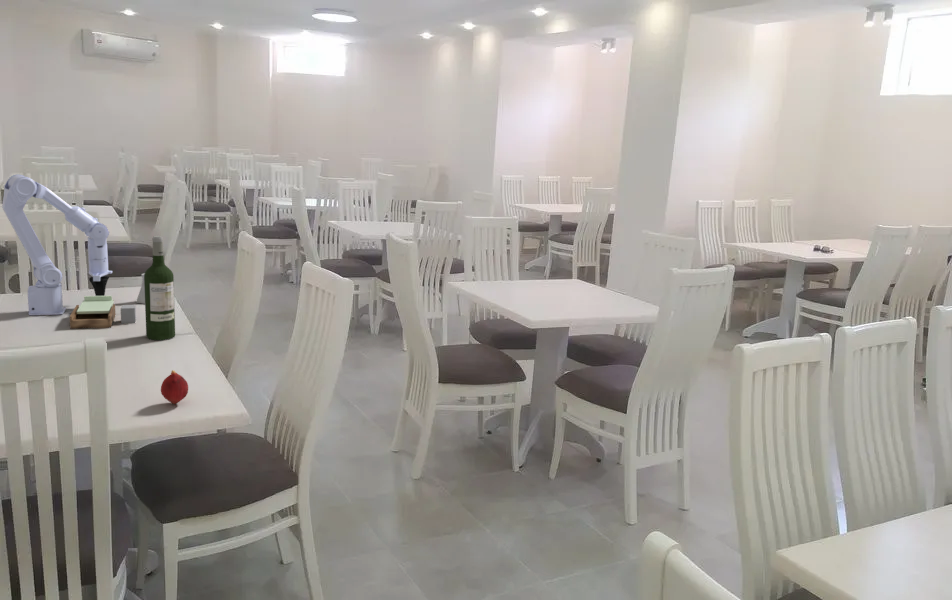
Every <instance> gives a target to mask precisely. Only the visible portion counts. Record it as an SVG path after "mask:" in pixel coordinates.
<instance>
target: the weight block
mask: <svg viewBox="0 0 952 600" xmlns="http://www.w3.org/2000/svg"><path fill="white" fill-rule="evenodd" d="M136 306H137V305H136V304H123V305H120V324H121V325H123V323H135V322H137V307H136ZM135 324H136V323H135Z"/></svg>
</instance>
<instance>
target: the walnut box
mask: <svg viewBox="0 0 952 600" xmlns="http://www.w3.org/2000/svg"><path fill="white" fill-rule="evenodd" d="M79 307H80V305H79V304H77V305H76V306H74V309H73V310H72V311H71V314H70V315H69V329H70V330H76V329H77V330H80V329H82V330H83V329H106V328H107V329H108V328H109V327H110V328H109V329H111V328H112V326H113V324H112V323H114V321H115V318H116V316H115V315H116V303H113V305H112V308H111V310H110V312H109V313H100V314H77V310H78V308H79Z"/></svg>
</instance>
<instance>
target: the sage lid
mask: <svg viewBox="0 0 952 600" xmlns="http://www.w3.org/2000/svg"><path fill="white" fill-rule="evenodd" d="M83 298H84V299H83V300H82V301H81V303H80V305H79V308H78V310H77V314H100V313H109V312H110V310H111V308H112V305H113V304H115V302H114V301H115V299H113V295H104V296H96V295H84V296H83Z"/></svg>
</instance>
